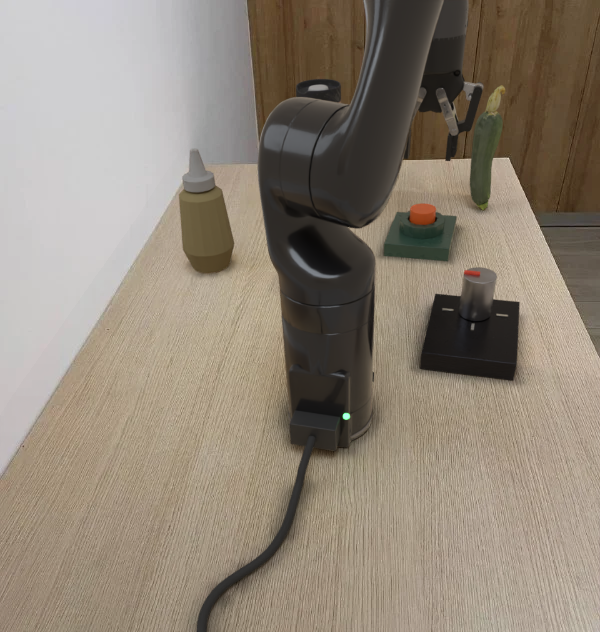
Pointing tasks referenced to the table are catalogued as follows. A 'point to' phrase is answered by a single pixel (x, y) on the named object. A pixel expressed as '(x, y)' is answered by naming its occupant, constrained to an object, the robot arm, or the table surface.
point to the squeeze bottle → (204, 219)
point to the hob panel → (471, 340)
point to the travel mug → (320, 89)
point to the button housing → (420, 238)
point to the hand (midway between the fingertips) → (427, 157)
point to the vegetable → (485, 149)
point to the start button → (422, 214)
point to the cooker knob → (477, 293)
